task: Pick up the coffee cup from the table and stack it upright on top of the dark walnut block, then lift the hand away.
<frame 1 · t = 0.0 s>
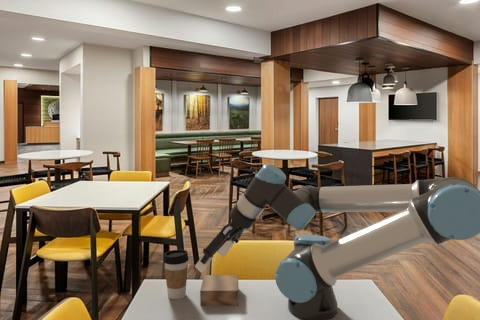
hand: (210, 261, 116), 15 cm above the table, tool tilted 35°, fingers open, 13 cm apart
coffee cup: (176, 295, 127), on the table
walnut block: (220, 296, 126), on the table
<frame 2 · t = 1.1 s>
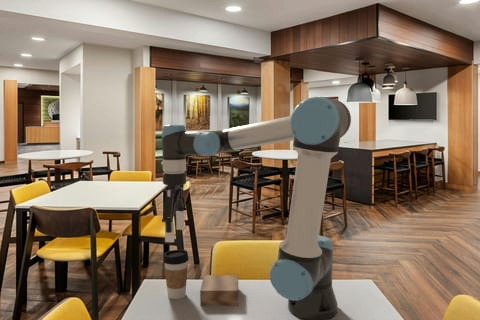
hand: (175, 235, 125), 21 cm above the table, tool pointing down, fingers open, 13 cm apart
nothing on the table moved.
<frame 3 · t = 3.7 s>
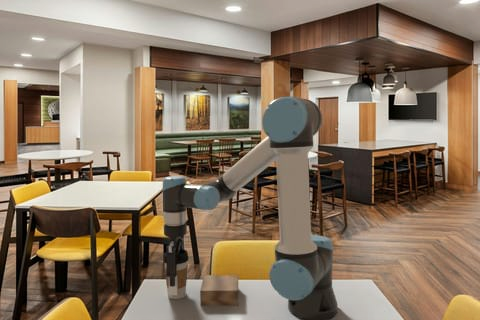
hand: (176, 289, 127), 2 cm above the table, tool pointing down, fingers closed on coffee cup, 8 cm apart
coffee cup: (176, 295, 127), on the table, touching gripper
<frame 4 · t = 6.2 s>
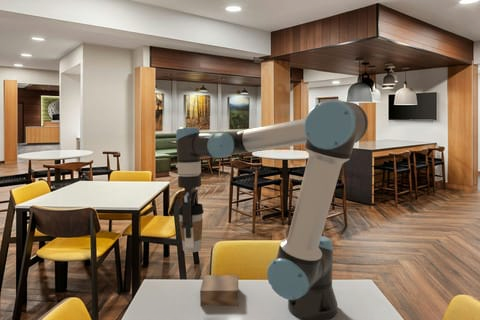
hand: (192, 243, 124), 18 cm above the table, tool pointing down, fingers closed on coffee cup, 8 cm apart
coffee cup: (192, 250, 125), point 16 cm above the table, touching gripper
when the fingers open (9 cm above the table, at t = 8.8 s): coffee cup drops 1 cm, resting on walnut block.
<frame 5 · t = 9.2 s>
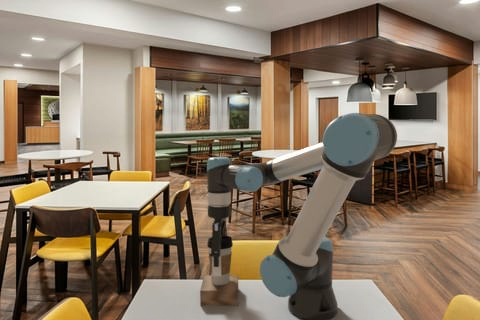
hand: (219, 267, 125), 10 cm above the table, tool pointing down, fingers open, 13 cm apart
coffee cup: (220, 282, 125), point 5 cm above the table, touching walnut block
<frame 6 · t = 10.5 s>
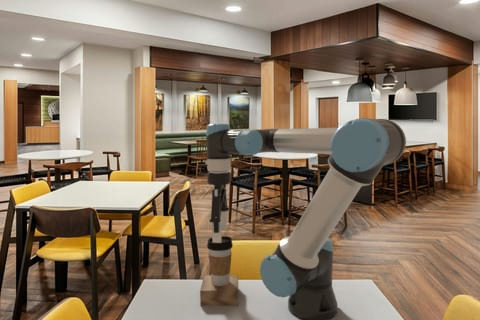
hand: (220, 235, 123), 21 cm above the table, tool pointing down, fingers open, 13 cm apart
nothing on the table moved.
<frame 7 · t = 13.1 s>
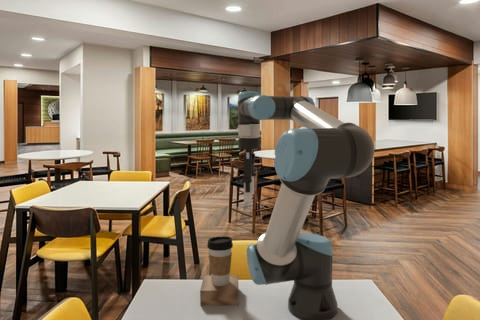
hand: (249, 197, 132), 32 cm above the table, tool pointing down, fingers open, 13 cm apart
nothing on the table moved.
at the end: coffee cup 0.2 cm off-centre on the walnut block, point 4.8 cm above the walnut block's base; coffee cup tilted 0°; coffee cup touching walnut block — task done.
